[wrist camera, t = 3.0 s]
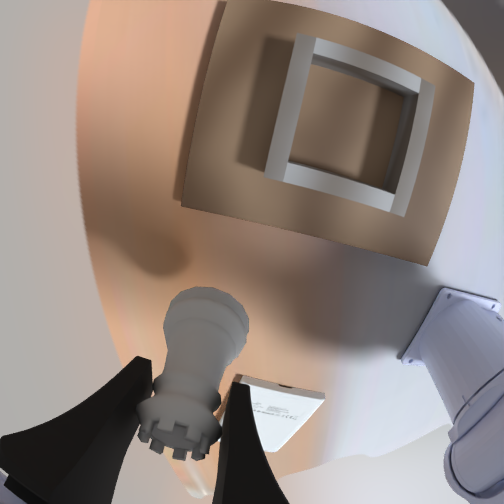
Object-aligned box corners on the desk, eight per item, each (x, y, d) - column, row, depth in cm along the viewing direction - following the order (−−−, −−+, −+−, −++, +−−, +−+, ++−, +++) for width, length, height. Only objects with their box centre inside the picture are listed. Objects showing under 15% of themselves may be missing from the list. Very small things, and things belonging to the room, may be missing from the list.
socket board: (466, 84, 12) (491, 80, 9) (421, 260, 18) (440, 279, 15) (231, 2, 12) (223, -19, 9) (185, 202, 17) (169, 215, 15)
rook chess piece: (154, 304, 15) (89, 417, 7) (217, 266, 14) (172, 397, 6) (202, 357, 16) (173, 473, 9) (265, 329, 15) (263, 461, 8)
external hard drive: (213, 429, 28) (243, 370, 23) (276, 442, 29) (324, 389, 24) (211, 439, 27) (241, 383, 22) (276, 453, 27) (326, 401, 22)
